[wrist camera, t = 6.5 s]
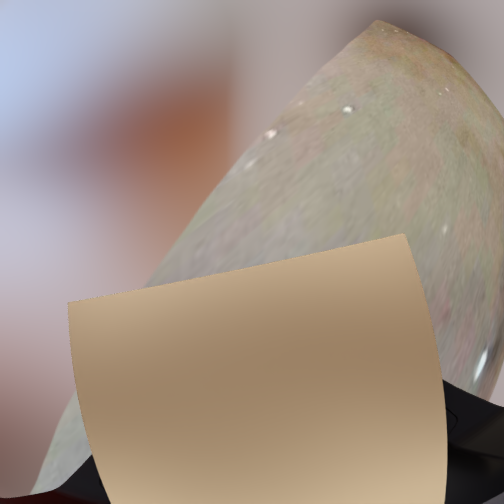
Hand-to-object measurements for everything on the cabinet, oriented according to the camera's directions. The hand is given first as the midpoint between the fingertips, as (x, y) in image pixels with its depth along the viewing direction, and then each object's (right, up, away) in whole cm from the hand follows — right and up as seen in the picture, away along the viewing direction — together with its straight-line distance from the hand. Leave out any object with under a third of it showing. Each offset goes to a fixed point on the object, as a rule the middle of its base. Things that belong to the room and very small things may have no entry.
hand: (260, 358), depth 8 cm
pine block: (+1, -3, +6) cm, 7 cm away
